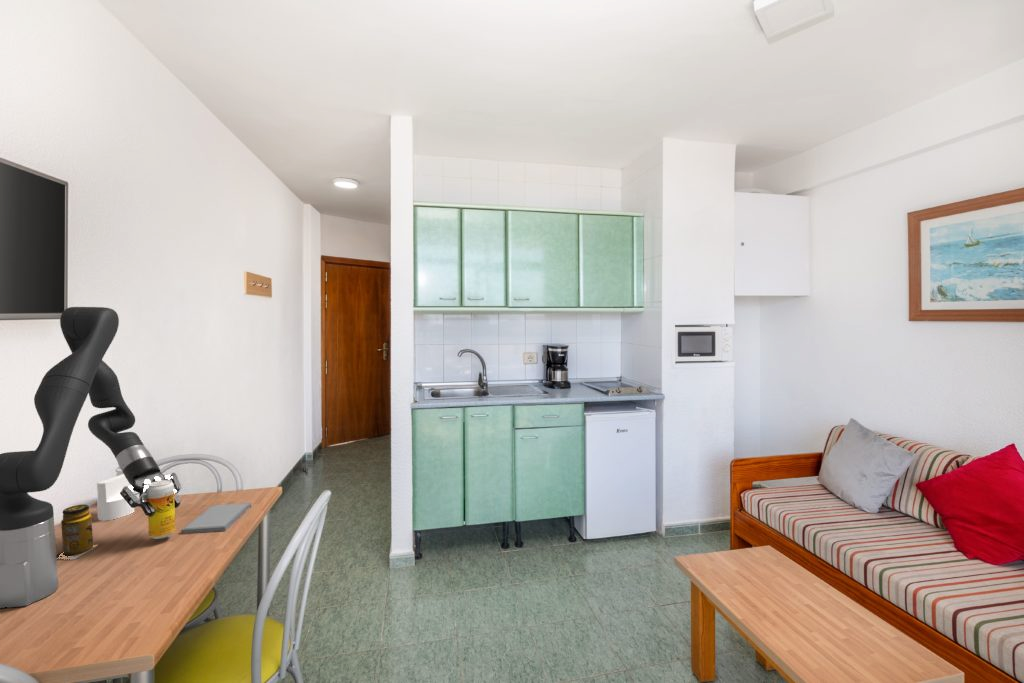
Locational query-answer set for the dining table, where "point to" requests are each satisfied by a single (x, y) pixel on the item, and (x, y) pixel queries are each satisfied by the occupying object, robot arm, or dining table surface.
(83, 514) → the condiment
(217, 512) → the grey flat slab
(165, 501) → the beer can
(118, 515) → the base with upright slab
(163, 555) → the dining table surface
